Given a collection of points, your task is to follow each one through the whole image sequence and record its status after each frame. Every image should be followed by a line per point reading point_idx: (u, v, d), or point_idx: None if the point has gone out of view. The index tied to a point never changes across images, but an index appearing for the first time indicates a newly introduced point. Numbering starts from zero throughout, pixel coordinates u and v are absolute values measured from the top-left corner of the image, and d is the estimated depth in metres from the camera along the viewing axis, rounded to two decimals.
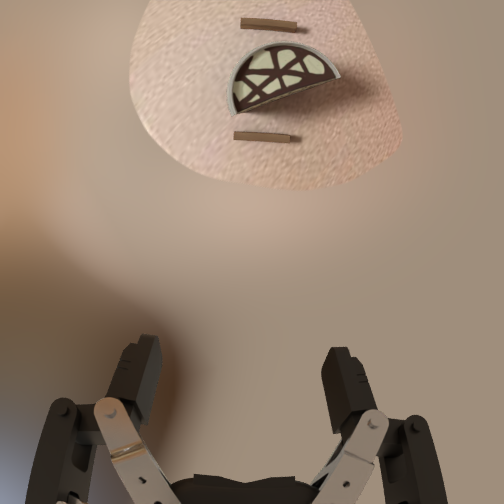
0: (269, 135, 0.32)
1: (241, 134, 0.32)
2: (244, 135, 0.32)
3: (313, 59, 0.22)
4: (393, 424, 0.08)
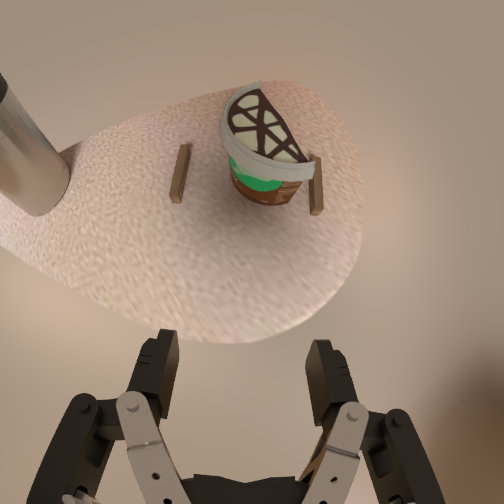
0: (315, 174, 0.31)
1: (316, 200, 0.30)
2: (317, 197, 0.30)
3: (242, 101, 0.24)
4: (374, 417, 0.08)
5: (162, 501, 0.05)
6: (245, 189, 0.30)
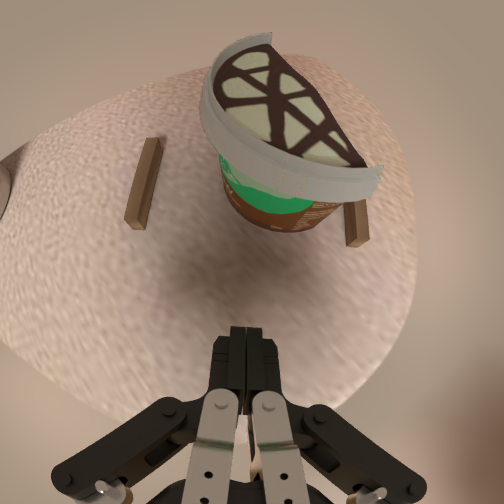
0: None
1: (359, 225, 0.18)
2: (360, 220, 0.19)
3: (241, 60, 0.13)
4: (297, 411, 0.09)
5: (199, 498, 0.05)
6: (246, 208, 0.18)
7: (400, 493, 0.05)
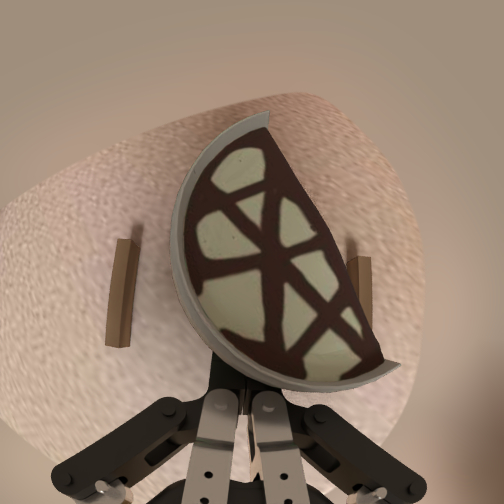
0: (361, 294, 0.17)
1: None
2: None
3: (224, 169, 0.10)
4: (296, 411, 0.09)
5: (199, 498, 0.05)
6: None
7: (400, 493, 0.05)
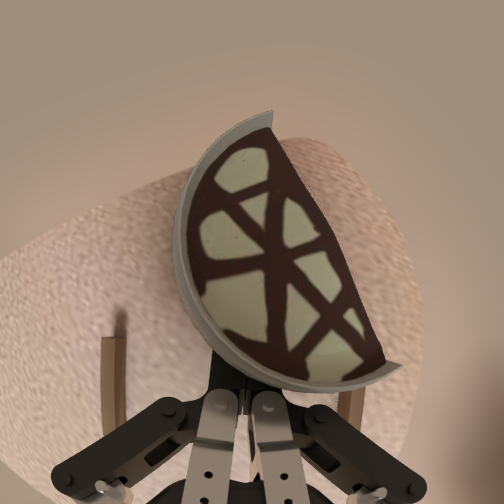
0: (354, 391, 0.15)
1: None
2: None
3: (227, 169, 0.10)
4: (297, 411, 0.09)
5: (199, 498, 0.05)
6: None
7: (400, 493, 0.05)
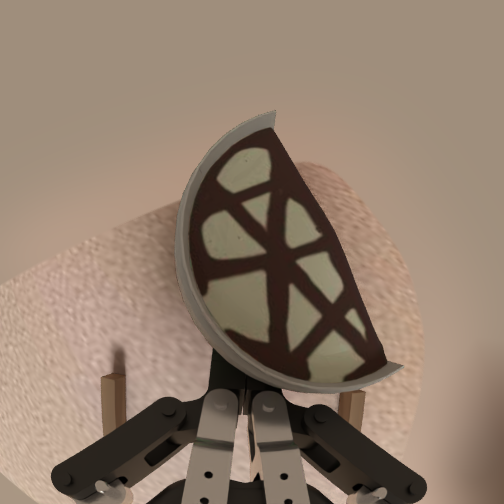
0: None
1: None
2: None
3: (229, 169, 0.10)
4: (297, 411, 0.09)
5: (199, 498, 0.05)
6: None
7: (400, 493, 0.05)
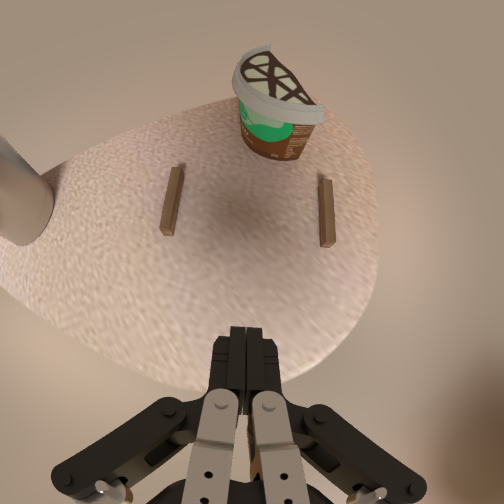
0: (326, 200, 0.27)
1: (328, 231, 0.26)
2: (329, 228, 0.26)
3: (253, 59, 0.24)
4: (297, 411, 0.09)
5: (199, 498, 0.05)
6: (256, 142, 0.29)
7: (400, 493, 0.05)
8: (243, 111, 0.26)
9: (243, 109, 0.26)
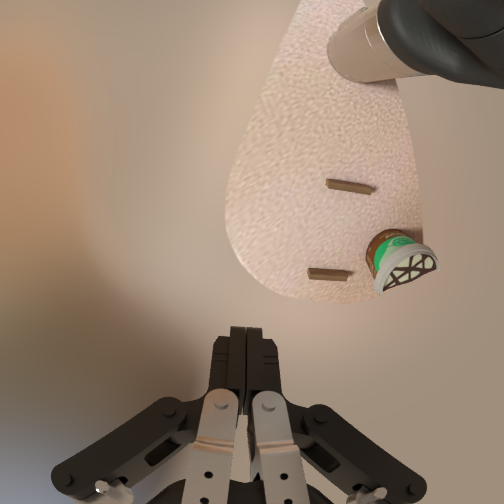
0: (334, 276, 0.46)
1: (315, 275, 0.46)
2: (317, 276, 0.46)
3: (429, 259, 0.37)
4: (297, 411, 0.09)
5: (199, 498, 0.05)
6: (378, 241, 0.43)
7: (400, 493, 0.05)
8: (397, 242, 0.39)
9: (398, 243, 0.39)
